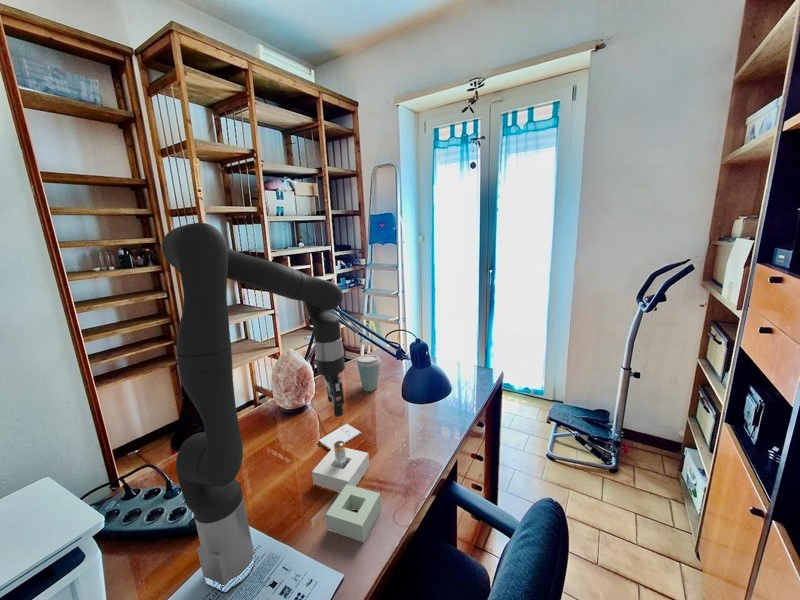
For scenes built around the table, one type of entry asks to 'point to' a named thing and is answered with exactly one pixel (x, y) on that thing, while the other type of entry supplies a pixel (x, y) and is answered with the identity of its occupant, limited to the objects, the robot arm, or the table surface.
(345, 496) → the block
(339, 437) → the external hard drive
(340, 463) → the steel pin
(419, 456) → the table surface
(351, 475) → the dock block
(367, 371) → the disposable coffee cup
